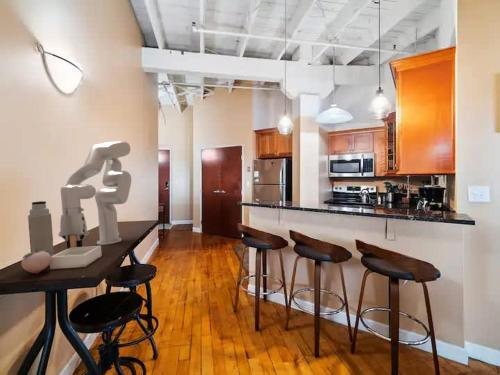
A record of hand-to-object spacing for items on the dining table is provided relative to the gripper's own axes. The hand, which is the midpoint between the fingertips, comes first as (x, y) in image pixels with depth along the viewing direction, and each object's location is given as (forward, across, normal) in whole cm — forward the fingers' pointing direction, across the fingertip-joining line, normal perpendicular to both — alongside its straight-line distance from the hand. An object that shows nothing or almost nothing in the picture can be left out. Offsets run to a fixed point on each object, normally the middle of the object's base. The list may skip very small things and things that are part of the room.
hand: (75, 248), depth 129 cm
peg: (+3, 0, 0) cm, 3 cm away
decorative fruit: (+3, +2, +24) cm, 24 cm away
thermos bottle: (+4, +7, +12) cm, 14 cm away
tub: (+4, -7, +12) cm, 14 cm away
